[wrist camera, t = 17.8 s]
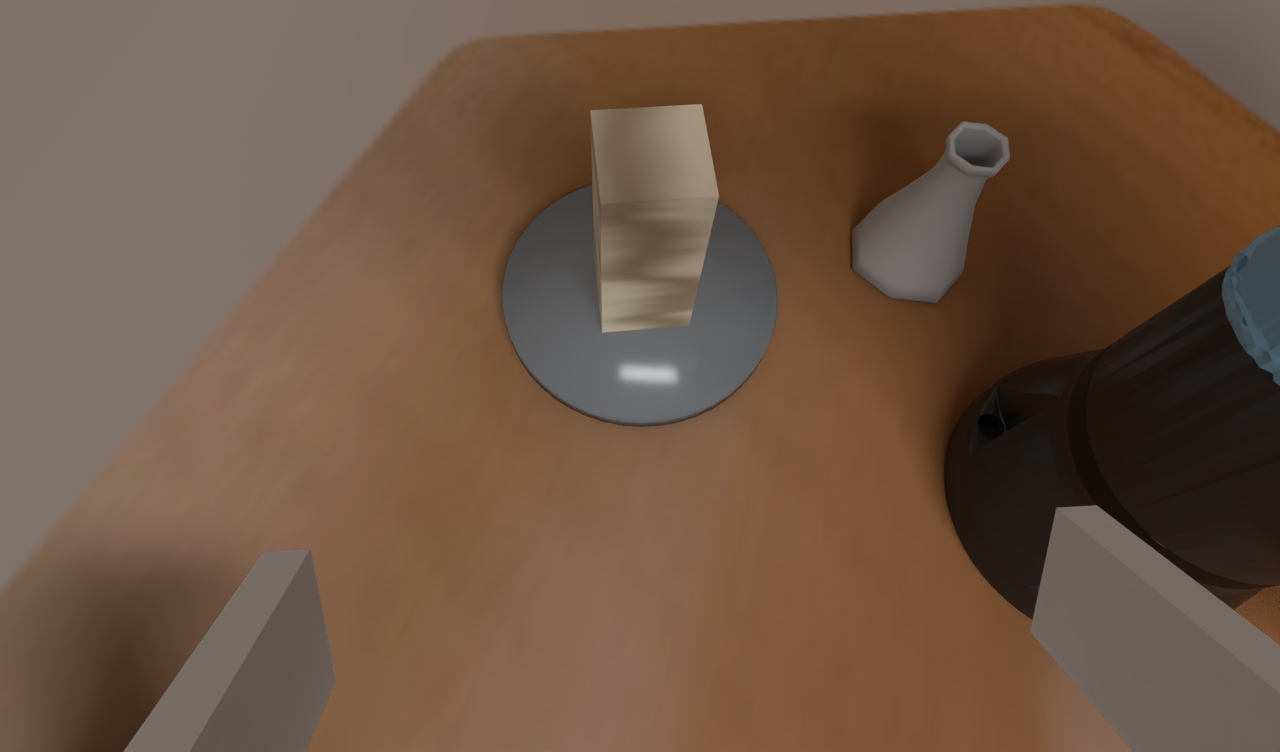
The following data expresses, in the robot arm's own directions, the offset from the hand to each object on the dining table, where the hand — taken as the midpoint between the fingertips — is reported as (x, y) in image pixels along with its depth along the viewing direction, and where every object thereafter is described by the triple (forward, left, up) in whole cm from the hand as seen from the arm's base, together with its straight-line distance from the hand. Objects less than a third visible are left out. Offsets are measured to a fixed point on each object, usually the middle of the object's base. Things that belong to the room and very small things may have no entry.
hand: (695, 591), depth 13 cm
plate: (-5, -19, -25) cm, 32 cm away
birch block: (-5, -19, -24) cm, 31 cm away
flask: (-22, -18, -25) cm, 38 cm away
